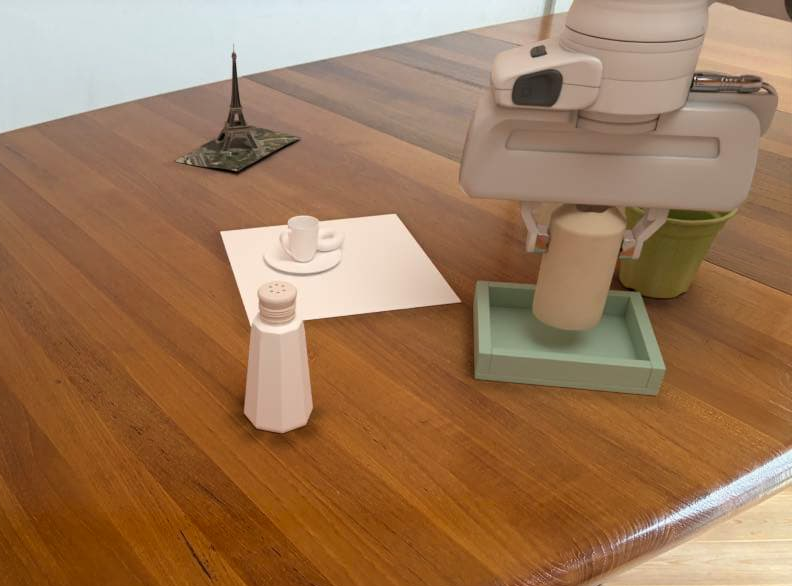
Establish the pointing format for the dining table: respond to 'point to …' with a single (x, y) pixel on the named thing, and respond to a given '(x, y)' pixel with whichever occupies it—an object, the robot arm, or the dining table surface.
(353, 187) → the dining table surface
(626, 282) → the plant pot
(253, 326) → the pepper shaker
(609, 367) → the tray
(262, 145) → the eiffel tower figurine
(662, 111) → the robot arm
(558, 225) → the candle
